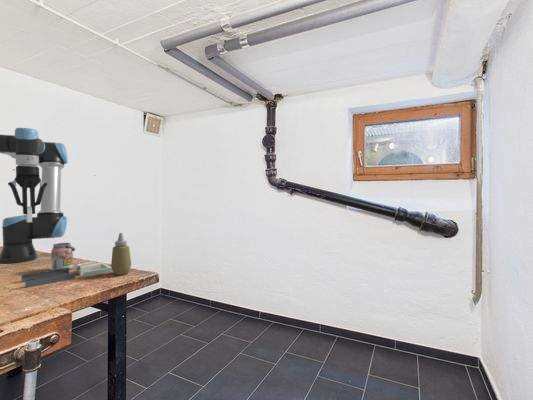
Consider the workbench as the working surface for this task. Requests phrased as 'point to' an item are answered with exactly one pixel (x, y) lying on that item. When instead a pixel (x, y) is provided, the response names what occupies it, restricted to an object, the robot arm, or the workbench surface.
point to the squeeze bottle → (121, 257)
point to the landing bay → (98, 270)
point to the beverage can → (62, 256)
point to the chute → (47, 277)
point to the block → (88, 267)
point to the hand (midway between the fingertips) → (29, 221)
